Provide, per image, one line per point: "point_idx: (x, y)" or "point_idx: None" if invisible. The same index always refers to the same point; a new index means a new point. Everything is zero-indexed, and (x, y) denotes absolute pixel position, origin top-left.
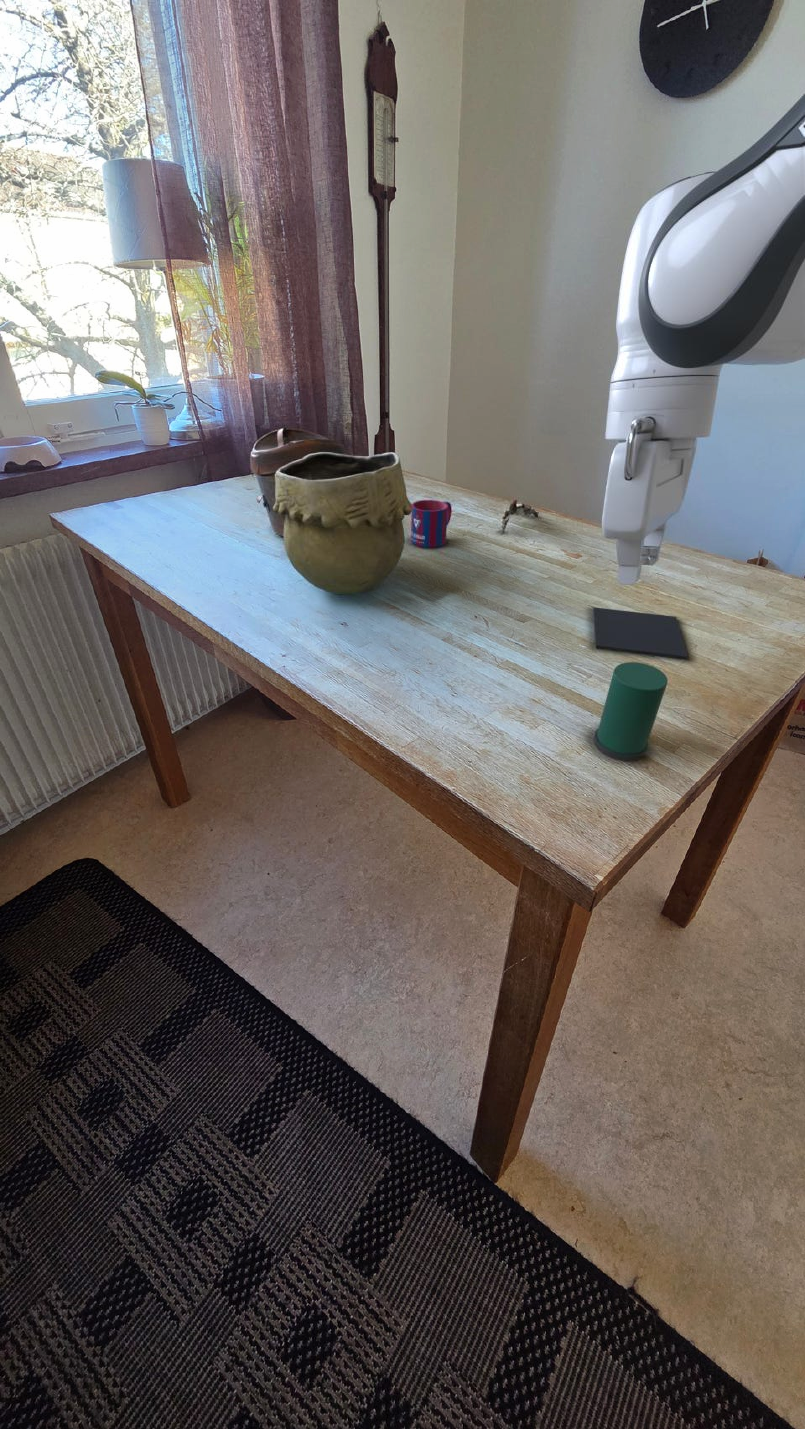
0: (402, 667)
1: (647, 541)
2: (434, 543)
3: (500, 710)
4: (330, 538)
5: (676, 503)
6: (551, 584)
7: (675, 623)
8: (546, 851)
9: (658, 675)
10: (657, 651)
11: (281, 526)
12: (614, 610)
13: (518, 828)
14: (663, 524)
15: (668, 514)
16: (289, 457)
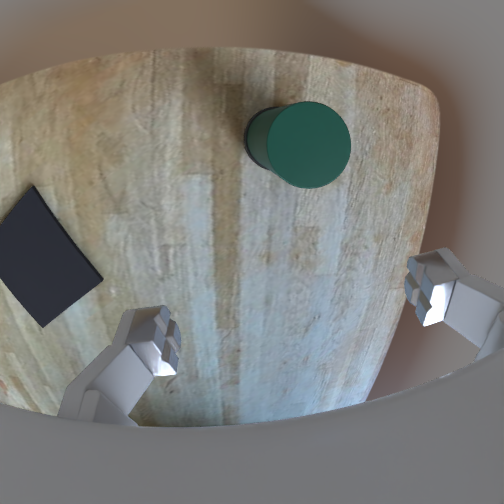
0: (308, 369)
1: (137, 380)
2: None
3: (311, 271)
4: None
5: (48, 459)
6: (50, 378)
7: None
8: (438, 132)
9: (289, 122)
10: (50, 220)
11: None
12: (27, 308)
13: (433, 161)
14: (98, 407)
15: (243, 457)
16: None
